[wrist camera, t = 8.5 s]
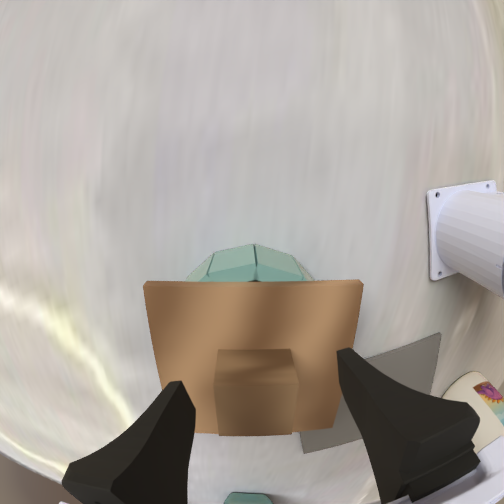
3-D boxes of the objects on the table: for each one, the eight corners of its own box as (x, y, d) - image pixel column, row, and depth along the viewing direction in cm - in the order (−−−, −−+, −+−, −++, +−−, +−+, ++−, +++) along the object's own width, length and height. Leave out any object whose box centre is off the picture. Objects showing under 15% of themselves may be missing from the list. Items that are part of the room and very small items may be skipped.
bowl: (308, 232, 21) (324, 248, 17) (324, 353, 24) (338, 386, 19) (163, 263, 21) (144, 285, 17) (203, 376, 24) (197, 411, 20)
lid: (358, 279, 17) (388, 309, 13) (330, 421, 21) (342, 459, 16) (147, 281, 17) (121, 312, 13) (174, 424, 20) (165, 462, 16)
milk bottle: (442, 420, 29) (501, 516, 9) (430, 400, 27) (502, 514, 8) (482, 385, 27) (552, 470, 8) (475, 359, 26) (563, 457, 6)
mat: (439, 332, 24) (441, 334, 24) (423, 412, 27) (424, 414, 27) (289, 378, 24) (289, 381, 24) (303, 451, 28) (303, 453, 28)
